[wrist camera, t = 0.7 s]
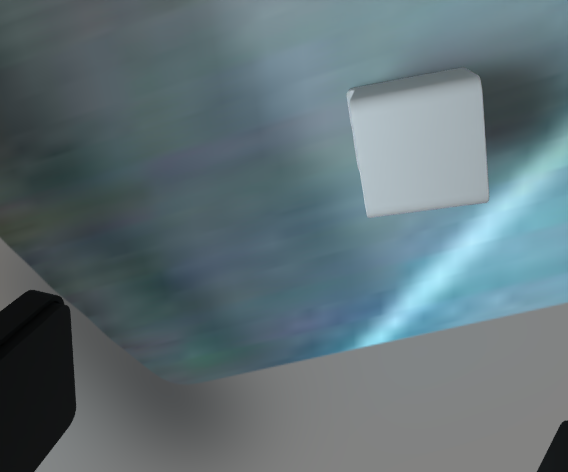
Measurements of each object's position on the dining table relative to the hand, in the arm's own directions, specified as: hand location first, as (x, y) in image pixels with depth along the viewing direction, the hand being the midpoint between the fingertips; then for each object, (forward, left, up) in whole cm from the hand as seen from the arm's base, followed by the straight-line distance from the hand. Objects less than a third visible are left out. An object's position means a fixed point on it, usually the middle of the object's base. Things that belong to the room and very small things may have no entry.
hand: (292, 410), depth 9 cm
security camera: (-1, +3, -28) cm, 28 cm away
